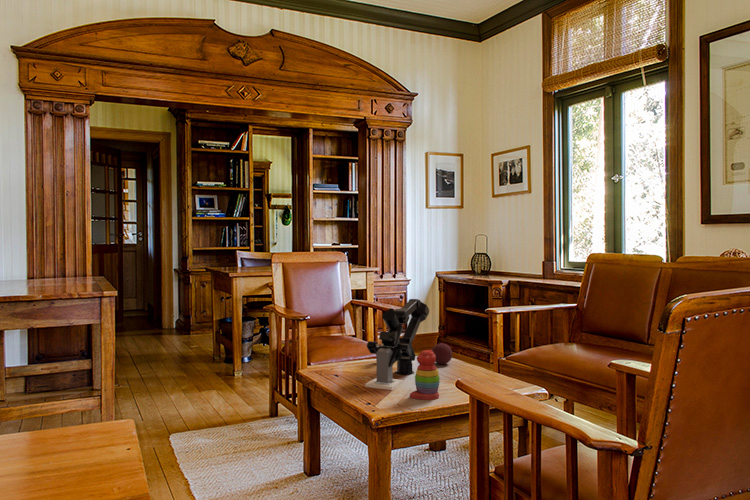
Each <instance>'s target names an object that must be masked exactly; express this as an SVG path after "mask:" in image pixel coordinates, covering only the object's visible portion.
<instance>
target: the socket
mask: <svg viewBox="0 0 750 500" xmlns="http://www.w3.org/2000/svg"><path fill="white" fill-rule="evenodd" d="M403 384H404V379H396V378H393V380H392V381H391V382H389V383H381V382H377V377H375V378H373V379H371V380H370V381H368V382H365V383H364V386H365V388H372V389H381V390H389V391H393V390H394V389H397V387H400V386H401V385H403Z"/></svg>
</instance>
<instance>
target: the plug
mask: <svg viewBox="0 0 750 500" xmlns="http://www.w3.org/2000/svg"><path fill="white" fill-rule="evenodd" d="M392 354H393V351H392V350H391V349H388V348H381V349H379V350H378V351H377V352H376V354H375V358H376V357H377V362H376V378H377V382H381V383H389V382H391V381H392V380H393V379H394V377H393V372H394V371H393V365H394V364H393V365H392V366H391V367H389V362H390V359H391V357H392Z"/></svg>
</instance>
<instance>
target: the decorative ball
mask: <svg viewBox="0 0 750 500" xmlns="http://www.w3.org/2000/svg"><path fill="white" fill-rule="evenodd" d="M431 350H432V351H433V353H434V354H435V356H436V361H435V363H436V364H439V365H445V364H448V363H450V361H451V359H452V358H453V351H452V348H451V347H450V346H449V345H448V344H446V343H443V342H442V343H440V342H439V343H436V344H435V345H434V346H433V347H432V349H431Z"/></svg>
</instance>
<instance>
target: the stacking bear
mask: <svg viewBox="0 0 750 500" xmlns="http://www.w3.org/2000/svg"><path fill="white" fill-rule="evenodd" d="M416 361H417V363H418V364H419V365H418V366H417V368H416V370H415V371H416V372H415V376H414V384H415V390H413V391H411V392H410V393H409V398H410V399H415V400H423V401H430V400H437V399H438V398H439V397H440V394H439V387H440V382H441V381H440V375H439V369H438V368H437V366H436V365H435V363H436V362H435V361H436V356H435V354H434V353H433V351H432V349H428V350H426V349H425V350H422V351H420V353H419V354H418V355H417V357H416Z"/></svg>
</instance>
